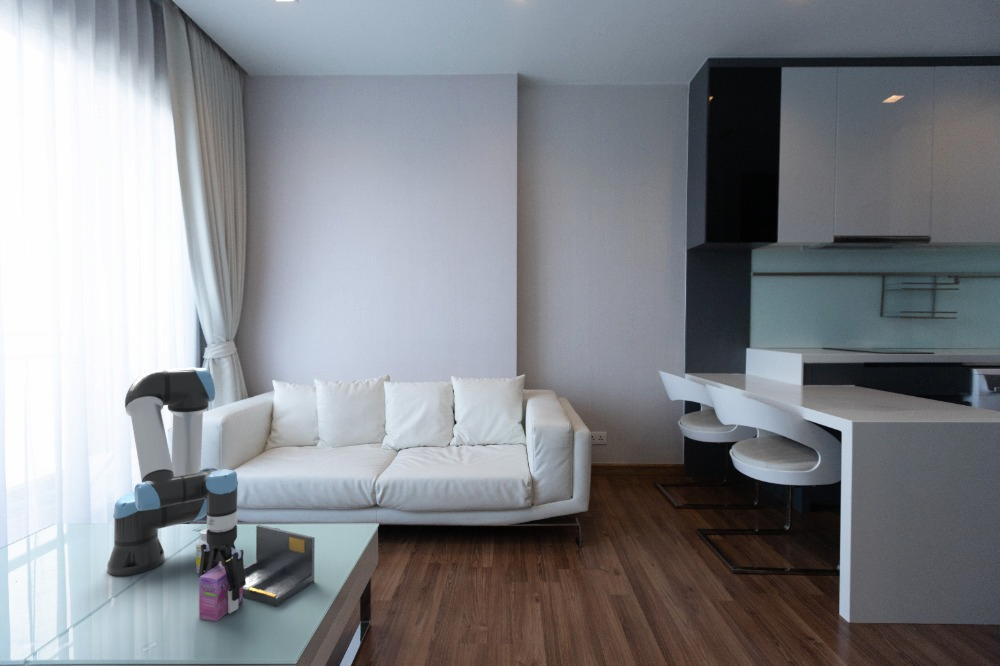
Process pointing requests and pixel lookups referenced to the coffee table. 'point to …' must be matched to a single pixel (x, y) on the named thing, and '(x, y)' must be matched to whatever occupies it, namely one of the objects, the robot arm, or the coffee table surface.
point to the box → (214, 594)
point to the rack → (279, 566)
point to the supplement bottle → (198, 547)
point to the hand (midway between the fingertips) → (221, 606)
